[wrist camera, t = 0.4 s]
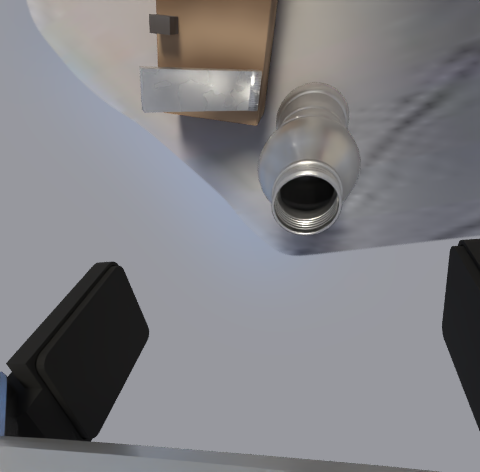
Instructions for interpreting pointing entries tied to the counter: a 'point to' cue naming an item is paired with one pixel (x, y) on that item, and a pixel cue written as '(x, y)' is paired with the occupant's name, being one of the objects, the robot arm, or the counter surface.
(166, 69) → the strap
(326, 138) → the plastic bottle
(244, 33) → the block
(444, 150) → the counter surface
